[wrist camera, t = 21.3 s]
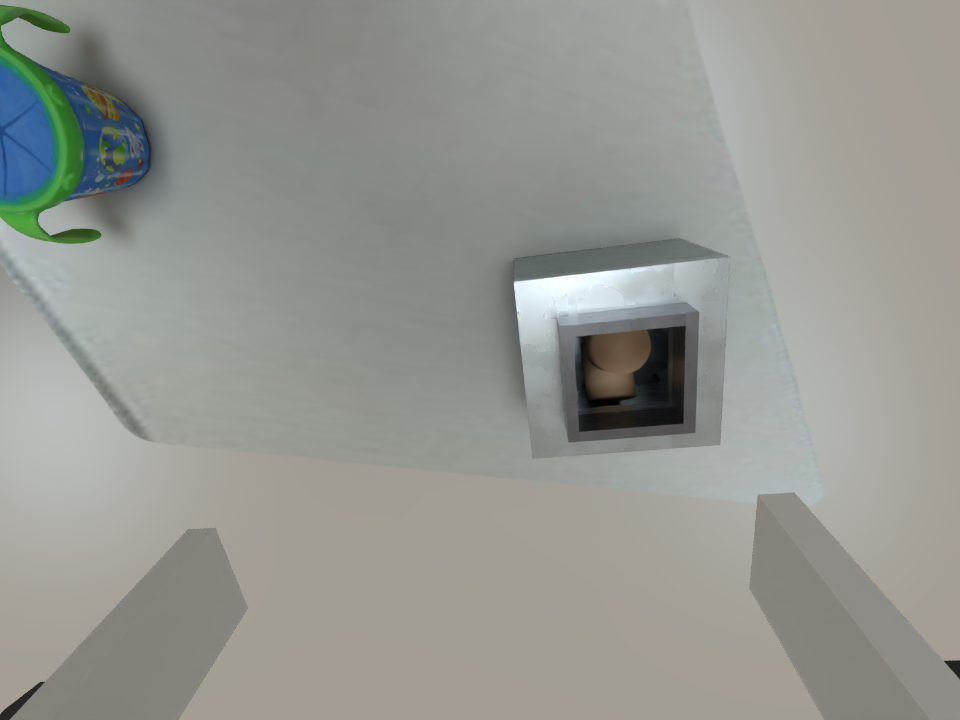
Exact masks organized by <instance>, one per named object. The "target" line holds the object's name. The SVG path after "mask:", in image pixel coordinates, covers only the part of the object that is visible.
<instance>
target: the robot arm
mask: <svg viewBox="0 0 960 720" xmlns="http://www.w3.org/2000/svg"><path fill="white" fill-rule="evenodd" d="M750 590H751V592H752V594H753V595H754V597H755V599H756V601H757V603H758V604H759V606H760V608H761V609H762V611H763V613H764V615H765V617H766V618H767V620H768V622H769V623H770V625H771V627H772V629H773V631H774V632H775V634H776V636H777V637H778V639H779V641H780V643H781V645H782V646H783V648H784V650H785V652H786V653H787V655H788V657H789V658H790V661H791V662H792V664H793V666H794V668H795V669H796V671H797V673H798V675H799V676H800V678H801V680H802V682H803V683H804V685H805V687H806V689H807V690H808V692H809V694H810V696H811V697H812V699H813V701H814V703H815V704H816V706H817V708H818V710H819V711H820V713H821V715H822V717H823V719H824V720H960V661H943V660H942V659H941V658H940V656H939V655H938V654H937V653H936V652H935V651H934V650H933V649H932V648H931V647H930V645H929V644H928V643H927V642H926V641H925V640H924V639H923V637H922V636H921V635H920V634H919V633H918V632H917V631H916V629H915V628H914V627H913V626H912V625H911V624H910V623H909V621H908V620H907V619H906V618H905V617H904V616H903V615H902V614H901V613H900V611H899V610H898V609H897V608H896V607H895V606H894V605H893V603H891V601H890V600H889V599H888V598H887V597H886V596H885V594H884V593H883V592H882V591H881V590H880V589H879V588H878V586H877V585H876V584H875V583H874V582H873V581H872V580H871V579H870V577H869V576H868V575H867V574H866V573H865V572H864V571H863V570H862V568H861V567H860V566H859V565H858V564H857V563H856V562H855V561H854V559H853V558H852V557H851V556H850V555H849V554H848V553H847V552H846V550H845V549H844V548H843V547H842V546H841V545H840V544H839V542H838V541H837V540H836V539H835V538H834V537H833V536H832V535H831V533H830V532H829V531H828V530H827V529H826V528H825V527H824V526H823V524H822V523H821V522H820V521H819V520H818V519H817V518H816V516H815V515H814V514H813V513H812V512H811V511H810V510H809V509H808V507H807V506H806V505H805V504H804V503H803V502H802V501H801V500H800V498H799V497H798V496H797V495H796V494H795V493H779V494H763V495H758V499H757V510H756V522H755V532H754V544H753V555H752V566H751V578H750ZM247 609H248V607H247V604H246V602H245V599H244V597H243V594H242V592H241V589H240V587H239V584H238V582H237V580H236V577H235V575H234V572H233V570H232V568H231V565H230V563H229V560H228V557H227V555H226V553H225V550H224V548H223V545H222V543H221V540H220V538H219V535H218V533H217V531H216V528H205V529H188V530H187V531H186V532H185V533H184V534H183V535H182V536H181V538H180V539H179V540H178V541H177V542H176V543H175V544H174V545H173V546H172V547H171V548H170V549H169V550H168V551H167V552H166V553H165V555H164V556H163V557H162V558H161V559H160V560H159V561H158V562H157V563H156V564H155V565H154V566H153V567H152V569H150V571H149V572H148V573H147V574H146V575H145V576H144V577H143V578H142V579H141V580H140V581H139V582H138V583H137V585H135V587H134V588H133V589H132V590H131V591H130V592H129V593H128V594H127V595H126V596H125V597H124V598H123V599H122V601H120V603H119V604H118V605H117V606H116V607H115V608H114V609H113V610H112V611H111V612H110V613H109V614H108V615H107V616H106V618H105V619H104V620H103V621H102V622H101V623H100V624H99V625H98V626H97V627H96V628H95V629H94V630H93V631H92V632H91V634H90V635H89V636H88V637H87V638H86V639H85V640H84V641H83V642H82V643H81V644H80V645H79V646H78V648H77V649H76V650H75V651H74V652H73V653H72V654H71V655H70V656H69V657H68V658H67V659H66V660H65V661H64V663H63V664H62V665H61V666H60V667H59V668H58V669H57V670H56V671H55V672H54V673H53V674H52V675H51V676H50V677H49V679H47V680H46V682H40V683H38V684H37V685H36V686H35V687H33V688H32V689H31V690H30V691H28V692H27V693H25V694H24V695H23V696H22V697H20V698H19V699H18V700H16V701H15V702H14V703H13V704H11V705H10V706H9V707H7V708H6V709H5V710H4V711H3V712H2V713H1V714H0V720H179V718H180V716H181V715H182V713H183V712H184V710H185V708H186V707H187V705H188V704H189V702H190V700H191V699H192V697H193V695H194V694H195V692H196V690H197V689H198V688H199V686H200V684H201V683H202V681H203V679H204V678H205V676H206V675H207V673H208V671H209V670H210V668H211V667H212V665H213V664H214V662H215V660H216V659H217V657H218V655H219V654H220V652H221V651H222V649H223V647H224V646H225V644H226V643H227V641H228V640H229V638H230V636H231V635H232V633H233V631H234V630H235V628H236V627H237V625H238V623H239V622H240V620H241V619H242V617H243V615H244V614H245V612H246V611H247Z"/></svg>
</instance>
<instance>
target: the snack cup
mask: <svg viewBox="0 0 960 720" xmlns="http://www.w3.org/2000/svg"><path fill="white" fill-rule="evenodd" d="M17 17H19V18H21V19H24V20H26V21H28V22H30V23H31V24H33V25H35V26H37V27H40V28H42V29H45V30H49V31H53V32H59V33H69V32H70V28H69V26H67V25H65V24H64V23H63V22H61V21H59V20H57V19H55V18H53V17H51V16H49V15H46V14H44V13H41V12H38V11H35V10H30V9H26V8H21V7H14V6H5V5H0V217H1V218H2V219H3V220H4V221H5V222H6V223H7V224H8V225H10V226H11V227H12V228H14V229H15V230H17V231H18V232H20V233H22V234H25V235H27V236H29V237H32V238H35V239H39V240H43V241H51V242H57V243H67V244H74V243H85V242H90V241H94V240H97V239H98V238H100V237H101V233H100V232H99V231H97V230H93V229H71V230H68V231H64V232H61V233H58V234H55V235H52V236H50V235H49V234H48V233H47V232H46V231H44V230H43V229H42V228H41V227H40V225H39V223H38V217H39V214H40V213H41V212H42V211H44V210H46V209H49V208H51V207H54V206H56V205H58V204H60V203H61V202H64V201H69V200H73V199H78V198H83V197H88V196H92V195H97V194H102V193H105V192H108V191H116V190H119V189H121V188H124V187H128V186H131V185H133V184H134V183H136V182H137V181H138V180H139V179H140V177H141V176H142V175H143V174H145V173H146V172H147V169H148V166H149V164H148V157H149V146H148V142H147V138H146V136H145V134H144V130H143V126H142V121H141V119H140V118H139V117H137V116H136V115H135V114H134V113H133V112H132V111H131V110H130V109H129V108H128V107H127V106H126V105H125V104H124V103H122V102H121V101H120V100H118V99H117V98H116V97H114V96H113V95H111V94H109V93H107V92H105V91H102V90H100V89H97V88H95V87H93V86H90V85H88V84H85V83H83V82H80V81H78V80H75V79H73V78H70V77H68V76H65V75H63V74H61V73H58V72H56V71H53V70H51V69H49V68H46V67H44V66H42V65H40V64H38V63H36V62H34V61H33V60H31V59H29V58H28V57H26V56H24V55H23V54H21V53H19V52H17V51H15V50H14V49H12V48H11V47H10V46H9V45H8V44H7V43H6V42H5V40H4V38H3V36H2V32H1V25H4V24H6V23H8V22H10V21H12V20H13V19H15V18H17Z"/></svg>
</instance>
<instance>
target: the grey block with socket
mask: <svg viewBox="0 0 960 720" xmlns="http://www.w3.org/2000/svg"><path fill="white" fill-rule="evenodd" d="M729 271H730V257H729V256H727V255H724V254H721V253H719V252H716V251H713V250H710V249H708V248H705V247H702V246H699V245H697V244H694V243H691V242H688V241H686V240H683V239H671V240H663V241H655V242H647V243H639V244H630V245H622V246H614V247H606V248H598V249H589V250H581V251H573V252H565V253H557V254H548V255H540V256H532V257H524V258H516V259H514V290H515V300H516V309H517V318H518V327H519V337H520V346H521V355H522V364H523V374H524V383H525V392H526V402H527V411H528V420H529V429H530V439H531V448H532V457H533V459H534V458H548V457H561V456H575V455H589V454H602V453H616V452H630V451H643V450H657V449H671V448H685V447H698V446H712V445H720V439H721V420H722V402H723V383H724V364H725V346H726V327H727V309H728V290H729ZM638 330H646V331H647V332H648V334H649V337H650V341H651V350H650V354H649V357H648V359H647V361H646V362H645V363H644V365H643V366H642V367H640V368H639V369H638V370H636V371H634V372H633V375H634V382H635V388H636V395H637V397H635V398H632V399H628V400H623V401H617V402H607V403H590V402H588V401H587V393H586V385H585V378H584V370H583V362H582V354H581V346H580V344H581V343H582V342H583V341H585V339H586V337H587V336H588V335H598V334H608V333H618V332H628V331H638Z"/></svg>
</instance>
